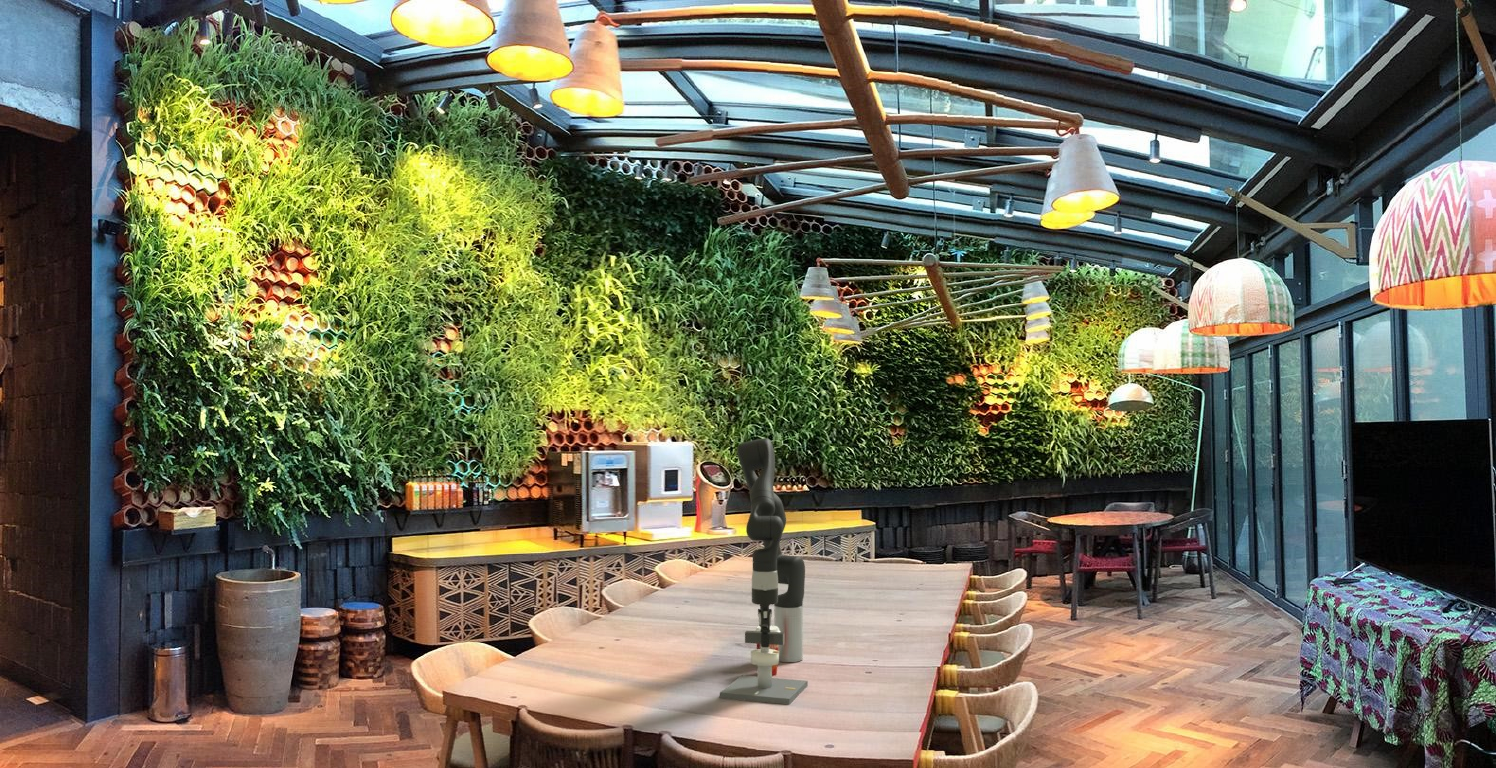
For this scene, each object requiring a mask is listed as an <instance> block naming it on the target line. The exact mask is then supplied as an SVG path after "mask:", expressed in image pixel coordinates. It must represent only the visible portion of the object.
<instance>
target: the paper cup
mask: <svg viewBox="0 0 1496 768" xmlns="http://www.w3.org/2000/svg"><path fill="white" fill-rule="evenodd" d="M760 630H761V627H760V626H759V625H758V626H757V627H756V630H755V631H760ZM770 632H781V631H780V630H779V628H778V627H777V626H774V625H772V624H771V626H770ZM778 646H779V645H774V644H769V649H773V650H777V651H778ZM756 649H761V644H756ZM777 673H778V664H777V665H773V666H772V677H773V676H776V675H777Z"/></svg>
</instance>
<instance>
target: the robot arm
mask: <svg viewBox="0 0 1496 768" xmlns="http://www.w3.org/2000/svg"><path fill="white" fill-rule="evenodd" d="M736 449H737V458H738V461H739V464H740V467H741V470H742V473H743V475H744V478H745V481H746V485H747V488H748V491H749V499H750V513H749V517H748V520H747V522H746V530H745V532H746V535H747V537H748V538H749V539H750V540H752V541H756V542H760V541H762V543H763V547H762V548H758V549H754V551H753V552H752V573H751V603H752V604H754V605H759V608H758V609H757V617H758V626H760V627H761V630H760V632H761V647H769V634H770V626H771V625H772V617H774V618H773V619H774V622H773V626H777V627H778V628H779V630H780V631H781V632H784V633H785V643H784V644H783V645H779V646H778V651H779V662H784V663H795V662H796V663H797V662H800V661H803V656H804V655H803V651H804V650H803V649H804V648H803V647H804V645H803V640H804V639H803V638H804V637H803V636H804V634H803V625H804V622H803V621H804V619H803V617H804V616H803V612H804V611H803V609H804V608H803V605H804V604H803V602H804V597H805V583H806V581H805V579H806V564H805V561H804V559H803V558H802V557H800V556H797V555H788V554H787V555H786V554H783V552H782V550H781V546H780V545H781V544H780V542H781V540H782V537H783V533H784V531H785V528H786V524H787V517H786V513H785V509H784V505H783V502H782V500H781V498H780V497H779V496H778V494H776V493H775V492H774V483H775V472H776V471H775V470H776V469H775V467H776V455H775V450H774V445H773V443H772V441H771V439H769V438H768V437H763V438H758V439H753V440H749V441H748V440H747V441H745V442H741V443H740V444H738V445H737V448H736ZM757 470H758V471H759V470H761V472H760V474H759V475H757V474H756V472H755V471H757ZM779 584H780V585H787V589H786V592H783V593H781V594H779ZM770 605H771V606H772V605H774V606H773V607H774V608H773V609H774V610H773V611H774V615H773V611H772V608H770Z"/></svg>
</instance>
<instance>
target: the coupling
mask: <svg viewBox="0 0 1496 768" xmlns="http://www.w3.org/2000/svg"><path fill="white" fill-rule="evenodd" d="M744 643H745V644H756V645H757V644H761V632H760V631H756V630H746V631H745V632H744ZM784 643H785V633H784V632H770V634H769V644H774V645H783V644H784ZM750 664H751V665H753V666H757V667H758V666H773V665H777V666H778V664H780V661H779V651H777V650H773V649H769V647H761V649H757V648H756V649H753V650H751V651H750Z"/></svg>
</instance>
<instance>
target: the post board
mask: <svg viewBox="0 0 1496 768" xmlns="http://www.w3.org/2000/svg"><path fill="white" fill-rule="evenodd" d="M808 683H809V682H808V680H801V679H792V678H778V677H773V676H772V666H757V676H756V675H755V676H754V675H744V674H743V675H741V676H739V677H738V678H737V679H736V680H734V681H733V682H731V683H730V684H729V685H728V686H726V687H725V688H724V689H722V690H721V691H720V692H719V699H725V700H726V699H728V700H738V701H750V702H759V703H760V702H761V703H771V704H783V705H791V703H792V702H794V701H795V700H796V699H797V698H798V696H799V695H801V693H802V692H803V691H805V689H806V688H807V687H808Z"/></svg>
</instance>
